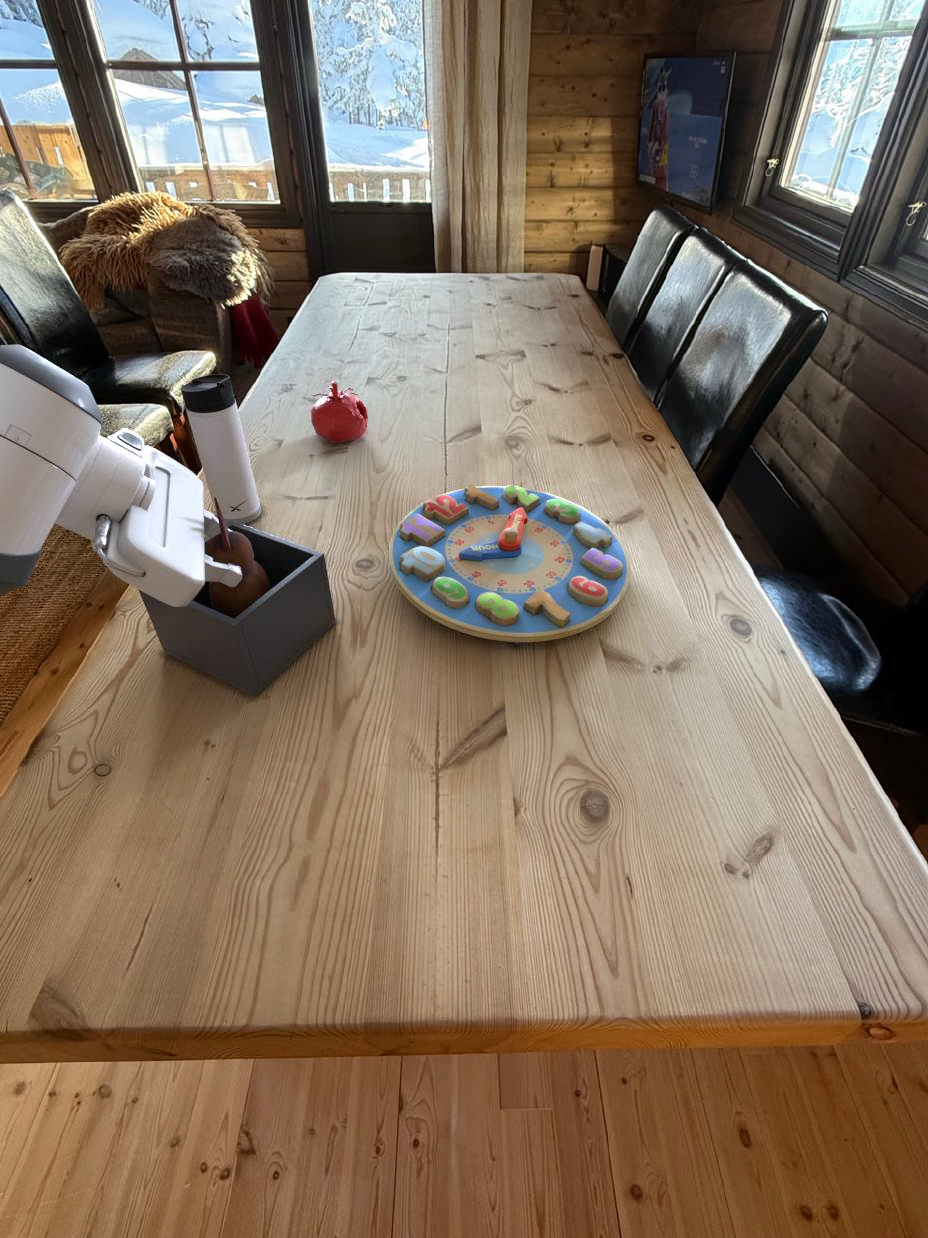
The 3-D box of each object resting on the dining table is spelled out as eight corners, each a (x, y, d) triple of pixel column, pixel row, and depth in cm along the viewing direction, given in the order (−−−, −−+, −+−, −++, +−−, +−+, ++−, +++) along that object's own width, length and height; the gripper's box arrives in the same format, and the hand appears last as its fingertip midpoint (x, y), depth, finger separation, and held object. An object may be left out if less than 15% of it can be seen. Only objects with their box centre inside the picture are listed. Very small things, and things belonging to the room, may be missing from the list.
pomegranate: (325, 453, 110) (317, 399, 104) (304, 430, 116) (296, 378, 110) (379, 440, 114) (374, 387, 108) (356, 418, 120) (350, 367, 114)
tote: (255, 697, 69) (233, 625, 62) (164, 653, 74) (135, 582, 67) (336, 622, 78) (324, 553, 71) (249, 587, 83) (231, 519, 76)
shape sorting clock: (527, 693, 69) (531, 652, 65) (341, 575, 85) (335, 536, 81) (673, 565, 86) (683, 527, 82) (495, 486, 102) (497, 450, 98)
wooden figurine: (232, 602, 77) (198, 488, 67) (281, 603, 76) (254, 489, 67) (214, 641, 72) (174, 525, 62) (266, 643, 71) (235, 526, 62)
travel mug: (248, 529, 93) (212, 390, 79) (208, 521, 94) (167, 383, 81) (271, 507, 97) (241, 372, 84) (233, 500, 99) (198, 366, 86)
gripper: (109, 527, 52) (262, 600, 60) (129, 420, 66) (249, 491, 75) (70, 582, 54) (223, 646, 62) (97, 467, 68) (218, 531, 77)
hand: (237, 560), depth 69 cm, fingers closed on wooden figurine, 5 cm apart
